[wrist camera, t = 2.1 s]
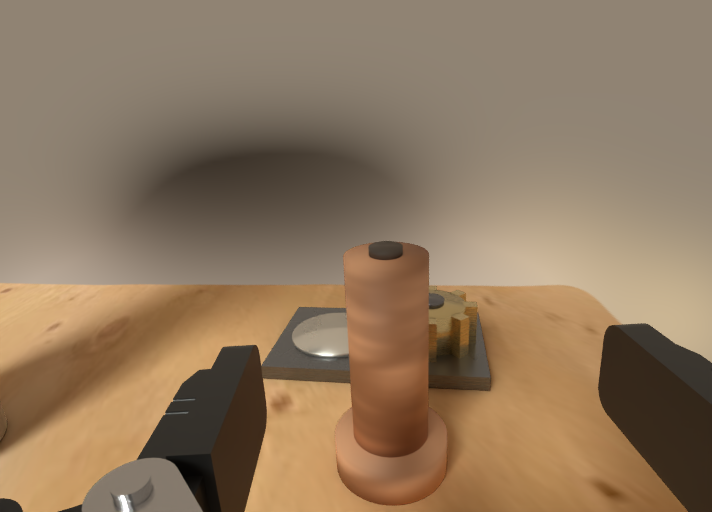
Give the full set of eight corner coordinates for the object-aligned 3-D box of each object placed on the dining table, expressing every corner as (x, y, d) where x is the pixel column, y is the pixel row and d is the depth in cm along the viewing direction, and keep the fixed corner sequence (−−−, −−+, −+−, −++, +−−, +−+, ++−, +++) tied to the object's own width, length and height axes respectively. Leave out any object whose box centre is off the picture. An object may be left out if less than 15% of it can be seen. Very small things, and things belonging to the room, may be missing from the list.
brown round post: (326, 499, 23) (306, 267, 19) (347, 421, 29) (335, 228, 25) (448, 511, 22) (453, 269, 18) (445, 427, 28) (449, 228, 24)
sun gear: (382, 359, 34) (380, 317, 33) (390, 317, 40) (389, 280, 39) (479, 364, 33) (481, 320, 31) (472, 320, 39) (473, 282, 38)
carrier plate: (262, 378, 34) (260, 362, 33) (299, 316, 43) (298, 304, 43) (490, 390, 31) (491, 373, 31) (477, 322, 41) (478, 308, 40)
